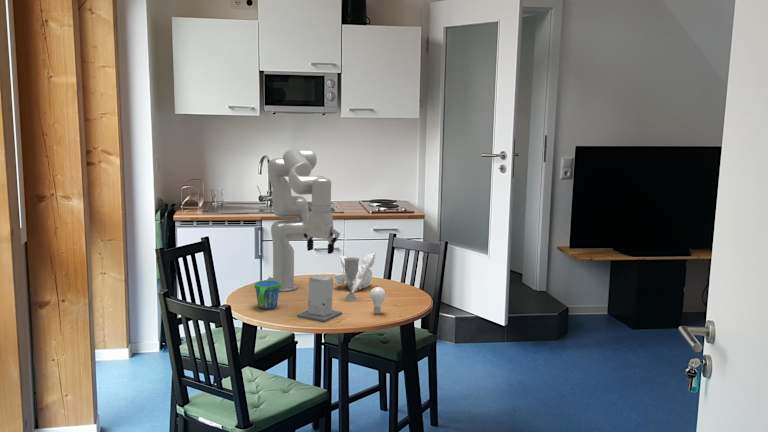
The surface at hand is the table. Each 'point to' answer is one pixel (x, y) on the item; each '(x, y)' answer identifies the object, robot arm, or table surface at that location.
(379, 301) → the lightbulb
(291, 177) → the robot arm
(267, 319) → the table surface
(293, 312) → the table surface
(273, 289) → the snack cup
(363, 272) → the white bumpy sculpture
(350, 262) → the chalice
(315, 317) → the charcoal mat
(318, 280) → the skincare box
